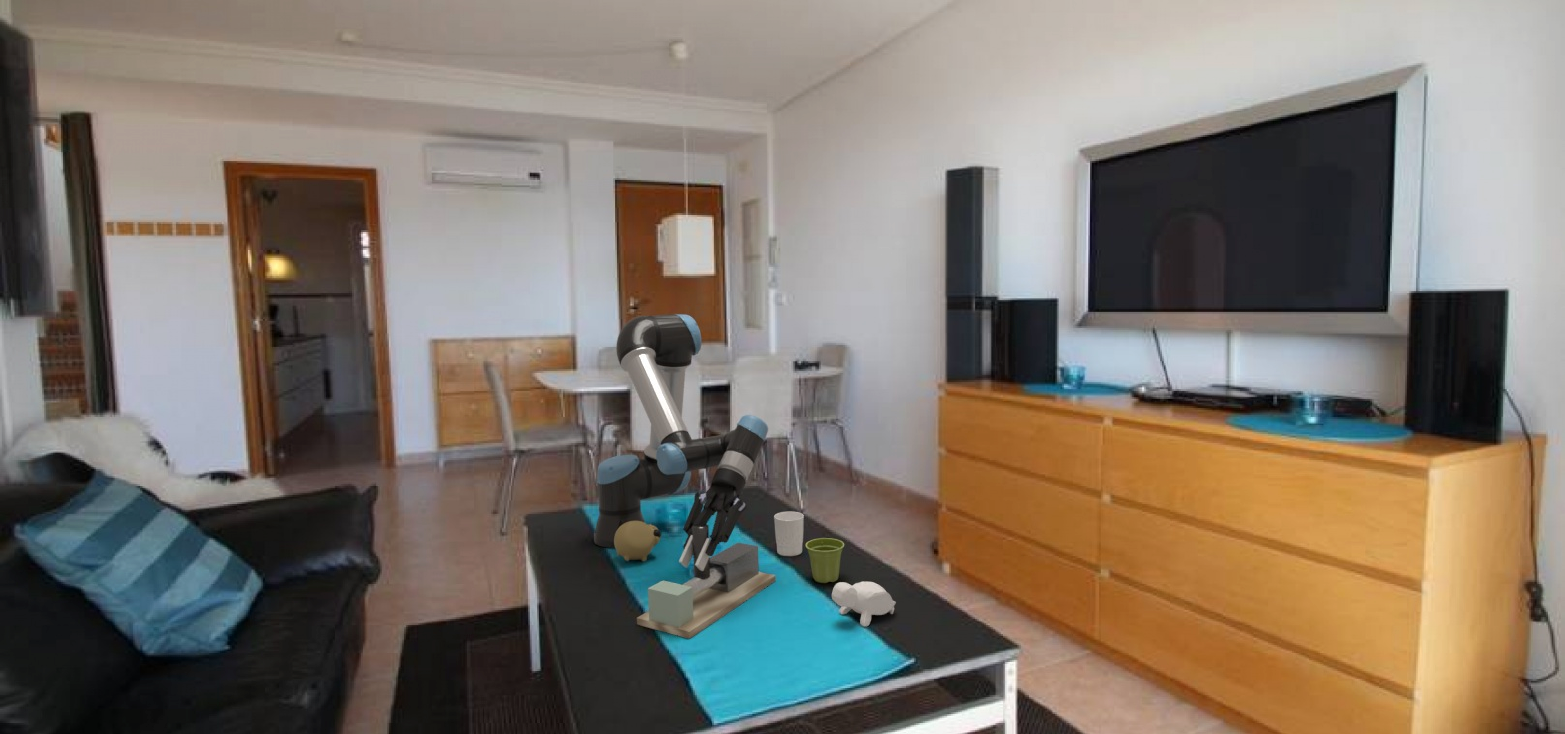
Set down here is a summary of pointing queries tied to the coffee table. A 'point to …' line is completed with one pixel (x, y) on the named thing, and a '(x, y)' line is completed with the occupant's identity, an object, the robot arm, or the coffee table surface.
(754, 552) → the outer sleeve
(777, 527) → the white cup
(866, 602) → the white turtle figurine
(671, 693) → the coffee table surface
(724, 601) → the birch base board
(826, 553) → the plant pot
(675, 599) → the socket block
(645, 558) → the toy pig
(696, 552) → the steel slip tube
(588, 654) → the coffee table surface
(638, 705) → the coffee table surface
